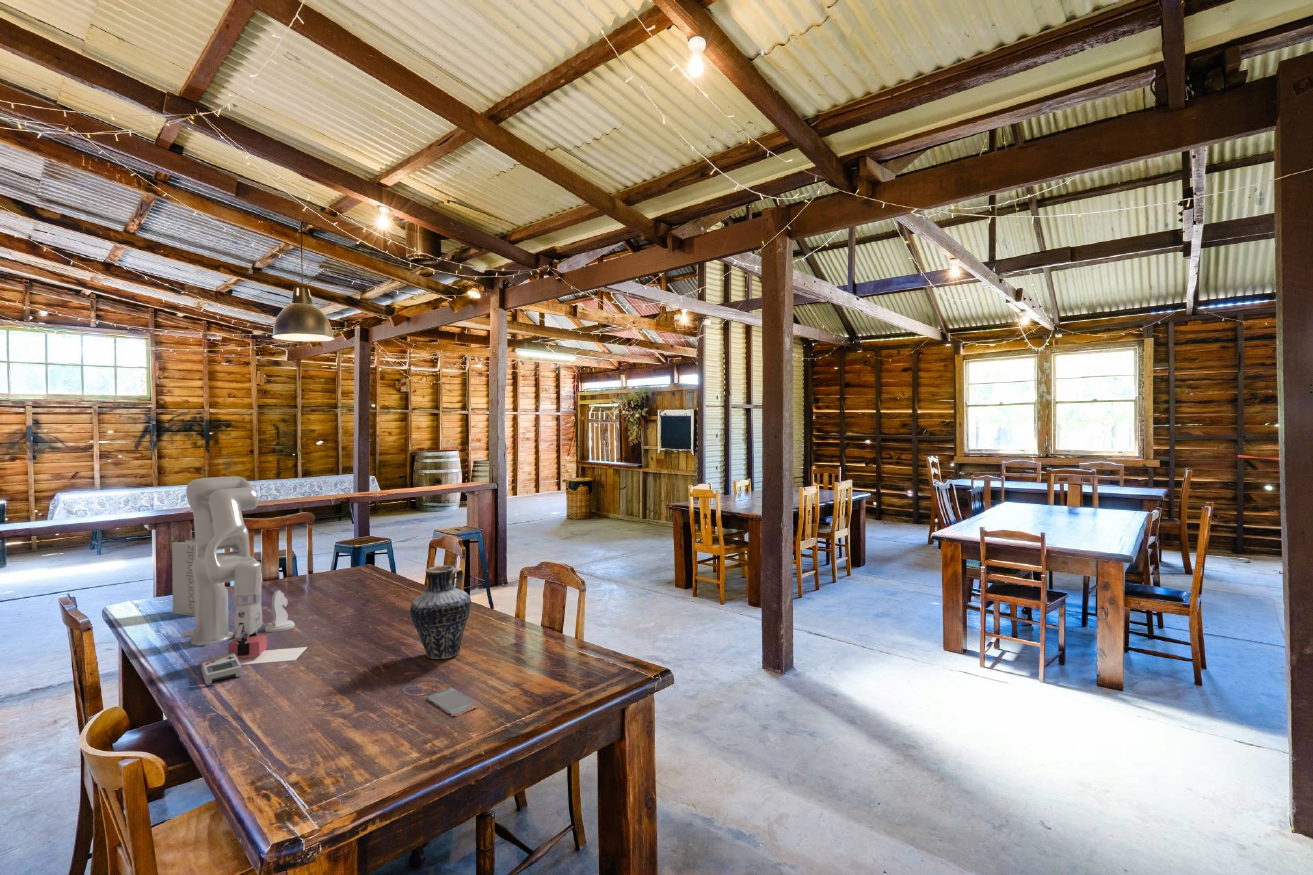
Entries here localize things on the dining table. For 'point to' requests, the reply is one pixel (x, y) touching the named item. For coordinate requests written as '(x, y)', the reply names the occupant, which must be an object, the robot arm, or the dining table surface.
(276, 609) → the chess piece
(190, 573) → the brochure
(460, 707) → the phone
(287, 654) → the mat
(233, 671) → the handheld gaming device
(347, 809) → the dining table surface
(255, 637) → the card box
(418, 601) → the jug
